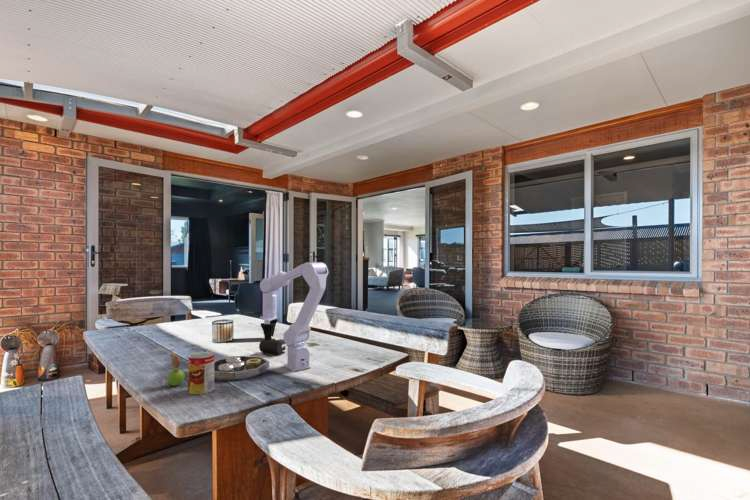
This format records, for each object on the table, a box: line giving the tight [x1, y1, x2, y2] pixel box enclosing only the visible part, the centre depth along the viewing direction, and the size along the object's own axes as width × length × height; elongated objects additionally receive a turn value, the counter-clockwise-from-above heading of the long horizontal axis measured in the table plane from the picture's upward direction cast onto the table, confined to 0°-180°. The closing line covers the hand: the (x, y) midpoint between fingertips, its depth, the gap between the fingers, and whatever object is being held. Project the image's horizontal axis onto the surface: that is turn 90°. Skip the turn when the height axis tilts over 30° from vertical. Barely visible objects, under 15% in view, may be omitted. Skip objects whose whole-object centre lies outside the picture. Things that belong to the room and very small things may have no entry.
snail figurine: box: [166, 348, 186, 387], centre depth 127 cm, size 5×6×12 cm
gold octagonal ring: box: [246, 359, 261, 370], centre depth 142 cm, size 5×5×3 cm
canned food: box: [187, 350, 215, 395], centre depth 122 cm, size 8×8×12 cm
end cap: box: [258, 337, 287, 356], centre depth 168 cm, size 10×7×7 cm
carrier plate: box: [214, 355, 270, 382], centre depth 142 cm, size 22×22×4 cm
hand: (269, 338), depth 156 cm, fingers open, 7 cm apart
